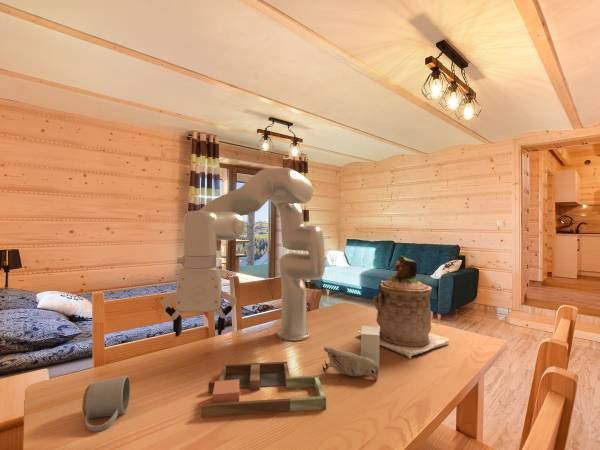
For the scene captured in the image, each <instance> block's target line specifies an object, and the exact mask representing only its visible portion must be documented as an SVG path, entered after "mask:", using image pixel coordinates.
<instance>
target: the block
mask: <svg viewBox="0 0 600 450" xmlns="http://www.w3.org/2000/svg"><path fill="white" fill-rule="evenodd" d="M214 381H215V385H214V391H213V393H212V403H224V402H239V401H240V388H239V379H237V380H226V379H225V380H224V381H219V380H214Z"/></svg>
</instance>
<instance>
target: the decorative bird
mask: <svg viewBox="0 0 600 450" xmlns="http://www.w3.org/2000/svg"><path fill="white" fill-rule="evenodd" d="M323 351H324V352H326V353H327V358H328V359H329V363H327V361H326V360H324V365H325V367H324V365H323V363H322V364H321V365H322V370H323V372H324V373H323V374H326V372H327V371H326V370H328V369H329V368H332V367H333V369H334V370H336V371H337V372H340V373H342V374H345V375H348V376H350V377H362V376H364V375H365V376H366V375H367V376H369V377H371V378H372V379H374V380H375V381H378V377H379V370H378V366H377V364H376V363H375V361H374V360H372V359H370V358H368V357H361V355H358V354H356V353H352V352H348V351H344V350H339V349H336V348H334V347H329V346H326V345H323Z"/></svg>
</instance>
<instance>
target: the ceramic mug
mask: <svg viewBox="0 0 600 450" xmlns="http://www.w3.org/2000/svg"><path fill="white" fill-rule="evenodd" d="M130 400H131V383H130V378H129V376H128V375H123V376H120V377H115V378H111V379H110V378H109V379H105V380H104V379H103V380H99V381H95V382H92V383H90V384H89V385H87V387H86V389H85V391H84V394H83V398H82V413H83V416H84V417H85V419H84V421H85V422H84V423H85V426H86V429H87V430H88V431H90V432H93V433H94V432H95V433H96V432H101V431H104V430H106V429H108V428H109V427H111V426H112V425H113V424H114V422H115V421H116V419H117V418H118V415H124V414H125V413H127V412H128V408H129V406H130ZM109 416H110V418H109V419H108V420H107V421H106V422H104V423H103V424H101V425H92V424H91V423H90V419H95V418H102V417H109Z"/></svg>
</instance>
